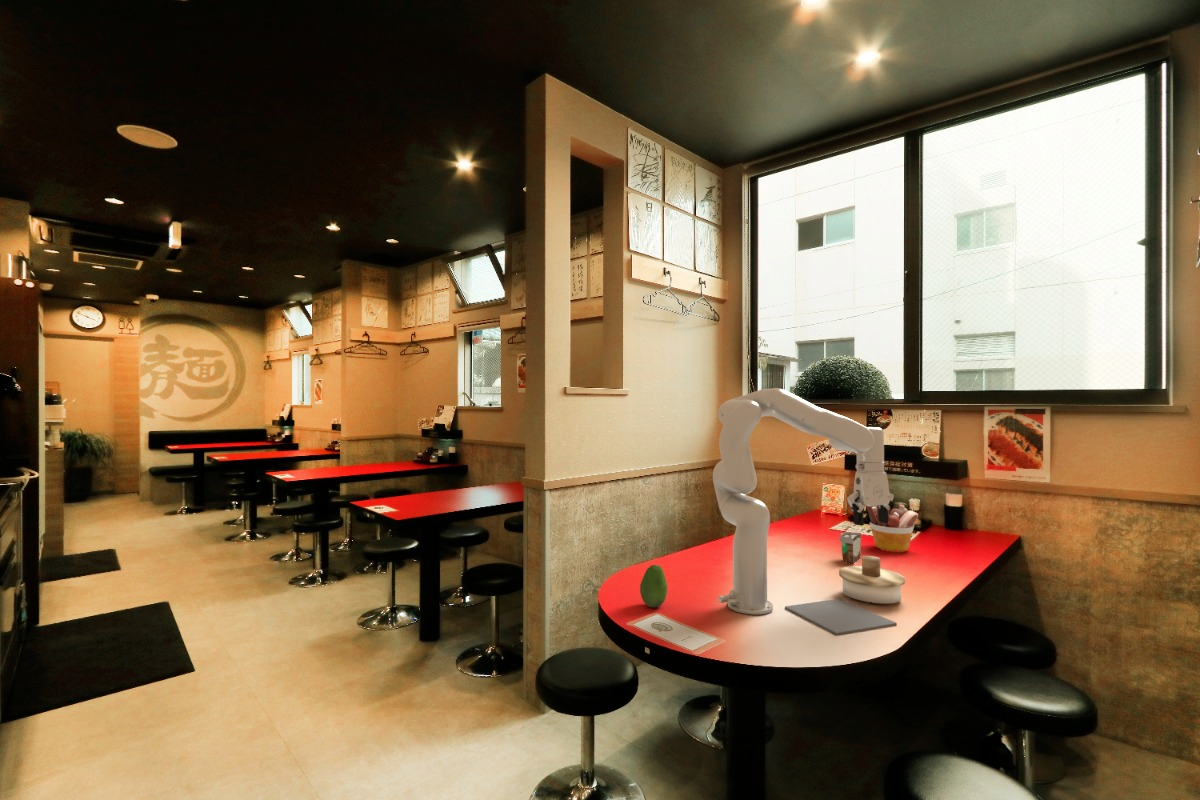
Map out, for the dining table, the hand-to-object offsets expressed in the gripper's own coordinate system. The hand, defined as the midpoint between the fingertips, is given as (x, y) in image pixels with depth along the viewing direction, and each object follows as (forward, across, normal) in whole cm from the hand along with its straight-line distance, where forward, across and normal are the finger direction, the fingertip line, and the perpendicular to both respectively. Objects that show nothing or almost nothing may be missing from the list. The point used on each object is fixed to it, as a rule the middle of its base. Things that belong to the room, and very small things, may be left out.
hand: (871, 523), depth 167 cm
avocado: (+22, -66, +15) cm, 71 cm away
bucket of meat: (+23, +55, +43) cm, 74 cm away
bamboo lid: (+16, 0, 0) cm, 17 cm away
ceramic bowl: (+22, 0, 0) cm, 23 cm away
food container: (+23, +25, +35) cm, 49 cm away
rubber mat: (+22, -21, -9) cm, 32 cm away
